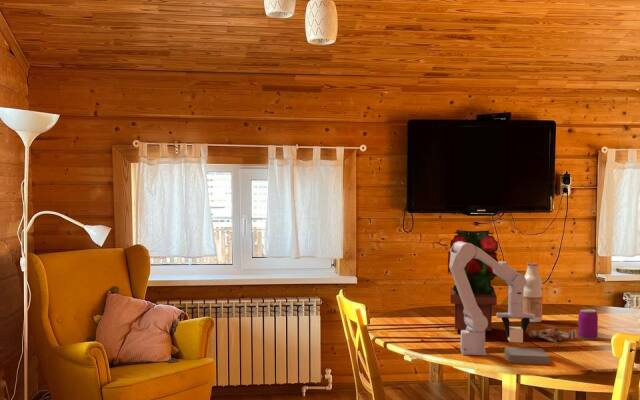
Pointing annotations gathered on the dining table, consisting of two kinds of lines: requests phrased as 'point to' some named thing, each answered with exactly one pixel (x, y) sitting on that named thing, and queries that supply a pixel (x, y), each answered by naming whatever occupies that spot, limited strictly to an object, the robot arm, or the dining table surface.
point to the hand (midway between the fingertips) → (515, 336)
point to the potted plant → (476, 277)
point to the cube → (515, 334)
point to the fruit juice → (533, 293)
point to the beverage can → (588, 324)
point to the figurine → (552, 334)
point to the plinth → (526, 355)
